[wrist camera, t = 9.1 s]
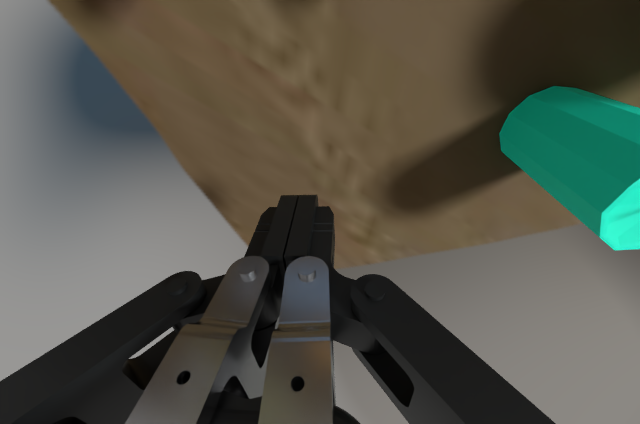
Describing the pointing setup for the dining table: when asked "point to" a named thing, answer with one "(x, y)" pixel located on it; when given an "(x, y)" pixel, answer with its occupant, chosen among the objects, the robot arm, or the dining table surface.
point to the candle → (582, 157)
